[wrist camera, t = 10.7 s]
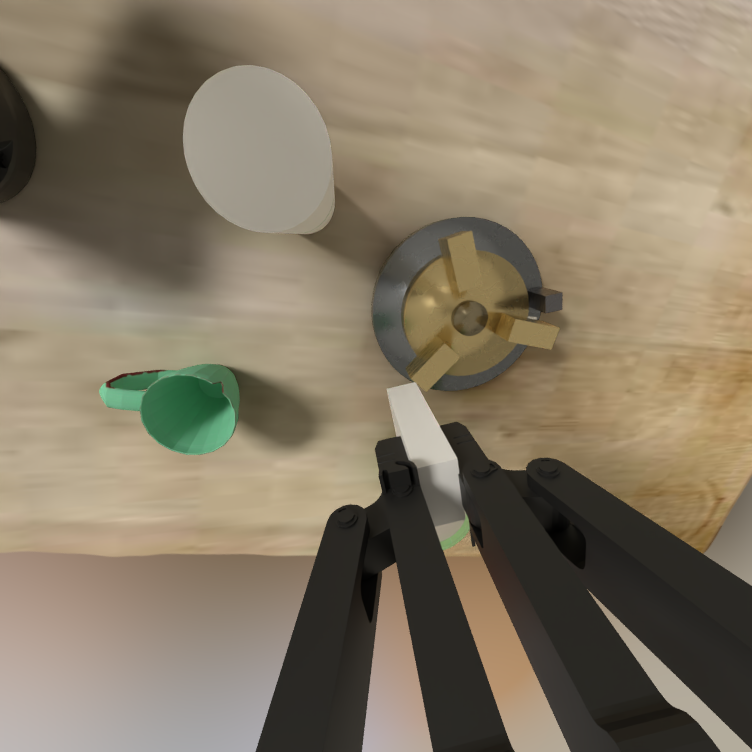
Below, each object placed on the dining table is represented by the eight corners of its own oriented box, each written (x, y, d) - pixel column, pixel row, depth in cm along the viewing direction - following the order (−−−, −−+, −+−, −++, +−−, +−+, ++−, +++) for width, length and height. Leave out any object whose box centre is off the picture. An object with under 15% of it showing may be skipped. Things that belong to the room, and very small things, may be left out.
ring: (355, 237, 43) (358, 238, 36) (532, 201, 43) (567, 195, 37) (387, 399, 51) (394, 423, 45) (535, 367, 52) (564, 386, 45)
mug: (260, 354, 47) (241, 383, 38) (250, 419, 50) (231, 461, 41) (139, 330, 44) (86, 355, 35) (137, 400, 47) (89, 441, 38)
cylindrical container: (282, 153, 39) (201, 32, 16) (343, 181, 40) (352, 109, 17) (264, 219, 41) (169, 198, 18) (323, 243, 43) (306, 254, 20)
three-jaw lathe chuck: (386, 367, 47) (394, 387, 41) (420, 223, 41) (435, 221, 35) (505, 387, 50) (528, 408, 44) (552, 255, 44) (587, 259, 38)
